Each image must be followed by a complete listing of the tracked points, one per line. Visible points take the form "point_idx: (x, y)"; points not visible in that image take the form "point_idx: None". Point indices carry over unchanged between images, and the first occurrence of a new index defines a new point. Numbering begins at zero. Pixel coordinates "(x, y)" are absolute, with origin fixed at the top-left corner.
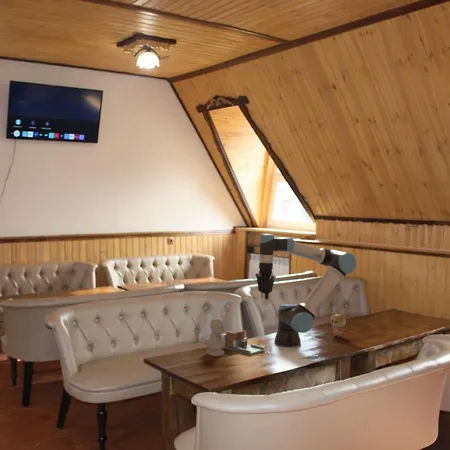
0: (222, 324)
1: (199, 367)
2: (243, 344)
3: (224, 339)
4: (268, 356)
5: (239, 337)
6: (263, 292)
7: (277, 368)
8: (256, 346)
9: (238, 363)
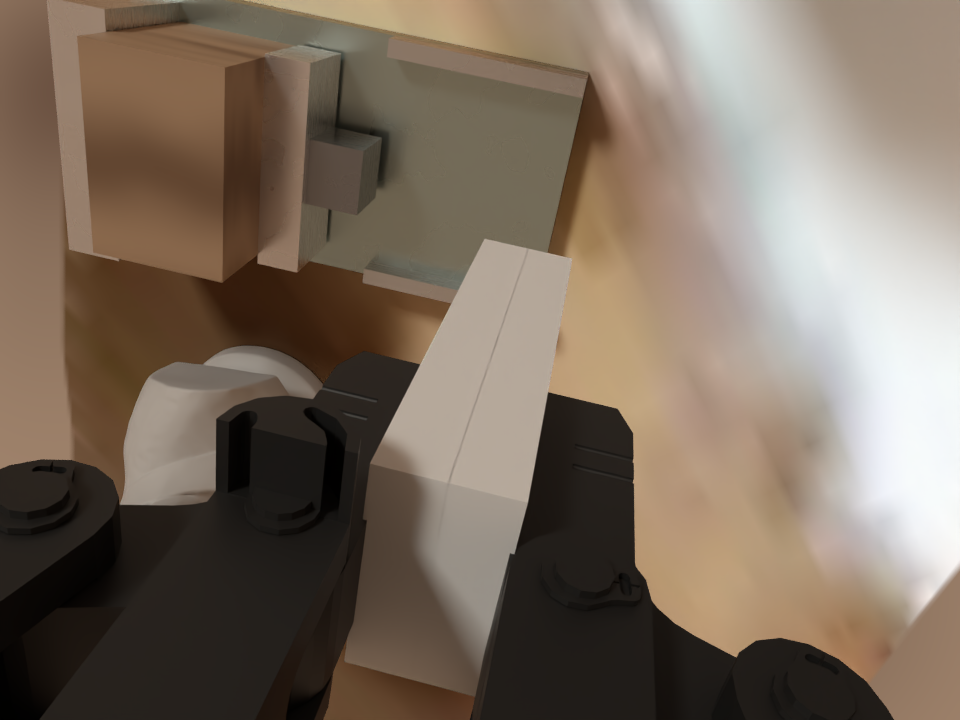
0: None
1: (406, 710)
2: (367, 200)
3: (238, 402)
4: (713, 222)
5: (255, 162)
6: (345, 625)
7: (930, 509)
8: (477, 75)
9: None
